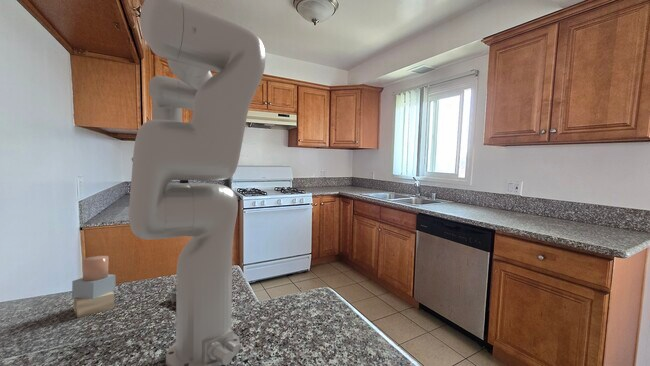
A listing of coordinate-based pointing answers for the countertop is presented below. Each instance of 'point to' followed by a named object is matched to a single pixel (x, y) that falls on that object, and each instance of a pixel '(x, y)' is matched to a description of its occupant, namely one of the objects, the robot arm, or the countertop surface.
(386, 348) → the countertop surface
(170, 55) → the robot arm
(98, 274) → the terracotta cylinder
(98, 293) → the tower top block
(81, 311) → the tower base block
